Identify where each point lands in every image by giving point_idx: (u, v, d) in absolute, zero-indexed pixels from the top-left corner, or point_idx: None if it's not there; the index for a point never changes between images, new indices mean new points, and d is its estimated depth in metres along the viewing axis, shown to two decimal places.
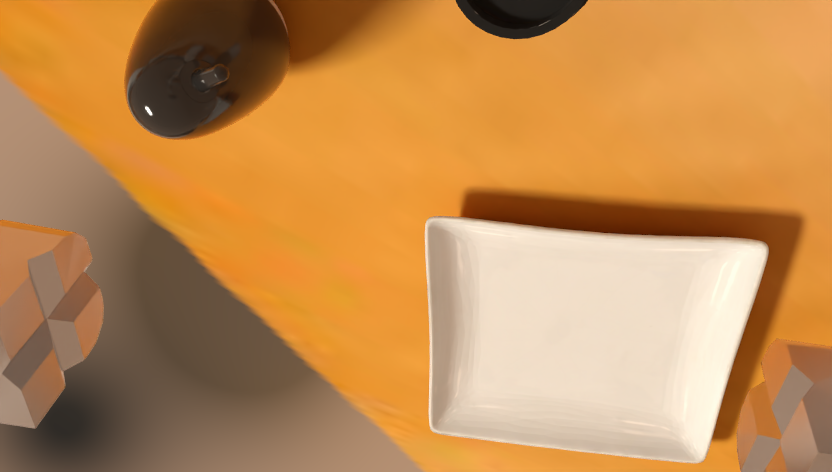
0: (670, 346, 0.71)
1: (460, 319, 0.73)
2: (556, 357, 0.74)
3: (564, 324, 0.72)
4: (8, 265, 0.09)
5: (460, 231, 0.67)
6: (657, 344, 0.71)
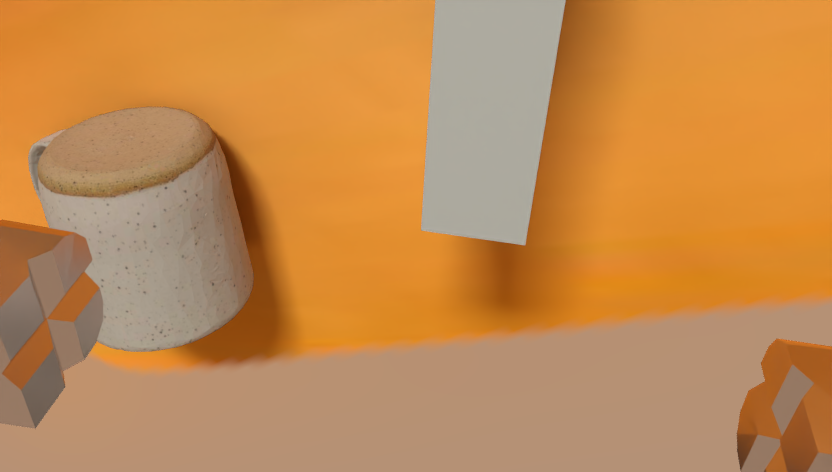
0: None
1: None
2: None
3: None
4: (8, 265, 0.09)
5: None
6: None
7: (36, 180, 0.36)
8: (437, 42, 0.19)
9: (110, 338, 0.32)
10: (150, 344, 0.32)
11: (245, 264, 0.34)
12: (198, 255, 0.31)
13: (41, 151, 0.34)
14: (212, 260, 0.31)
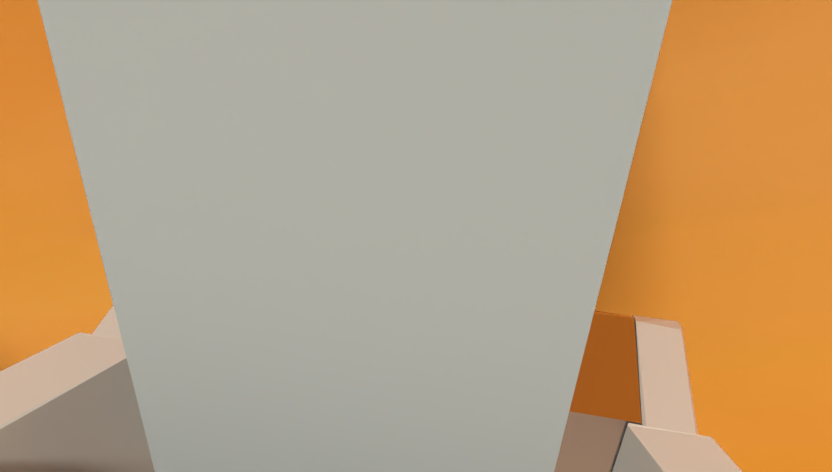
0: None
1: None
2: None
3: None
4: None
5: None
6: None
7: None
8: None
9: None
10: None
11: None
12: None
13: None
14: None
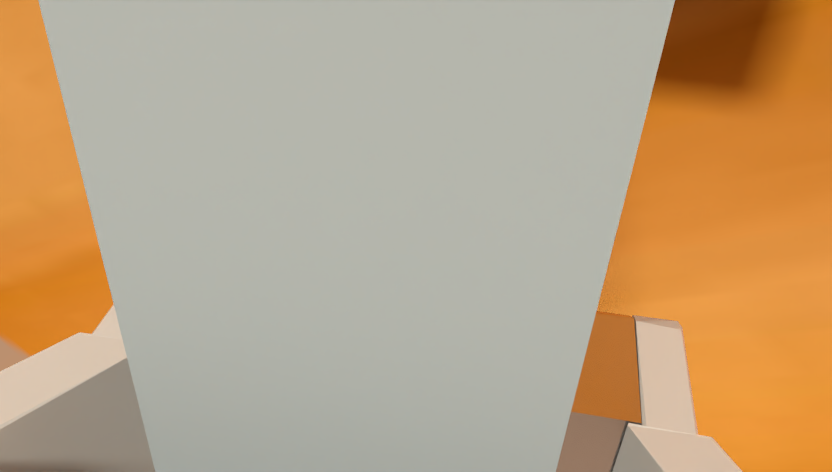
0: None
1: None
2: None
3: None
4: None
5: None
6: None
7: None
8: None
9: None
10: None
11: None
12: None
13: None
14: None
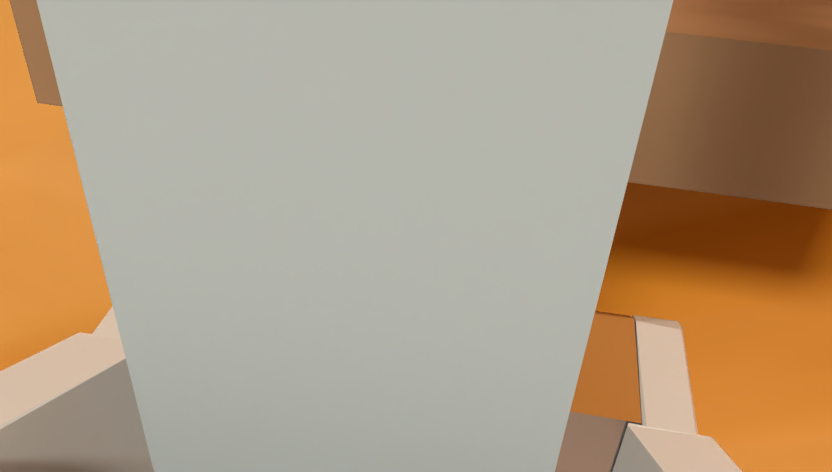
0: None
1: None
2: None
3: None
4: None
5: None
6: None
7: None
8: None
9: None
10: None
11: None
12: None
13: None
14: None
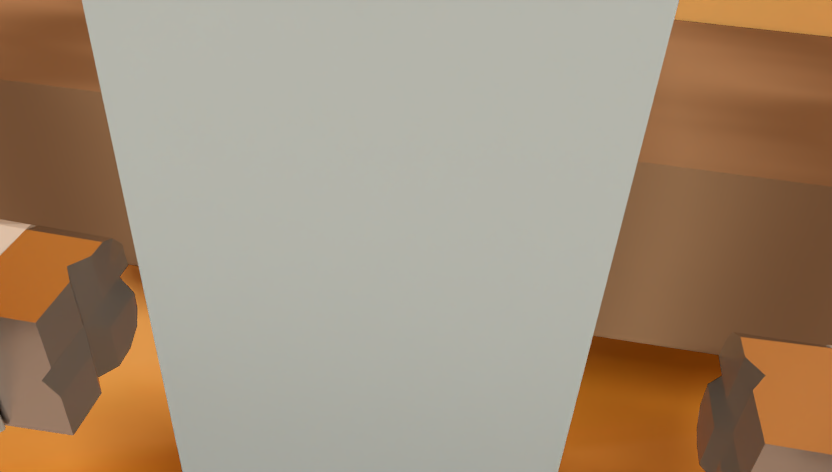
0: None
1: None
2: None
3: None
4: (48, 271, 0.08)
5: None
6: None
7: None
8: None
9: None
10: None
11: None
12: None
13: None
14: None
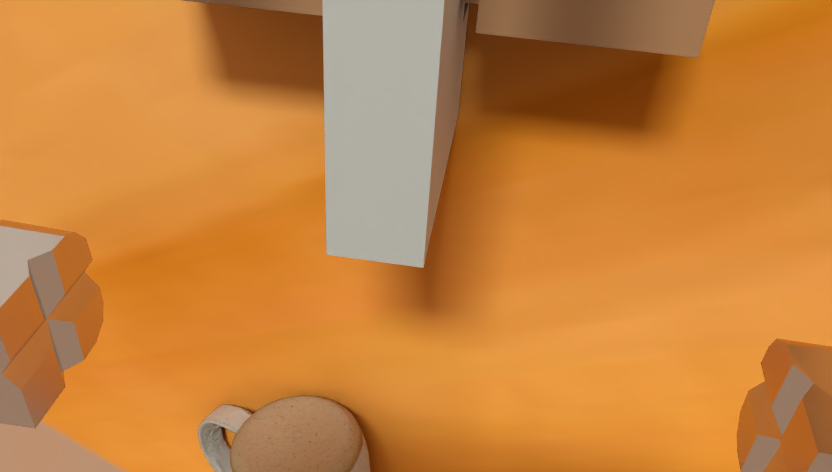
0: None
1: None
2: None
3: None
4: (8, 265, 0.09)
5: None
6: None
7: (202, 438, 0.45)
8: (328, 83, 0.21)
9: None
10: None
11: None
12: None
13: None
14: None
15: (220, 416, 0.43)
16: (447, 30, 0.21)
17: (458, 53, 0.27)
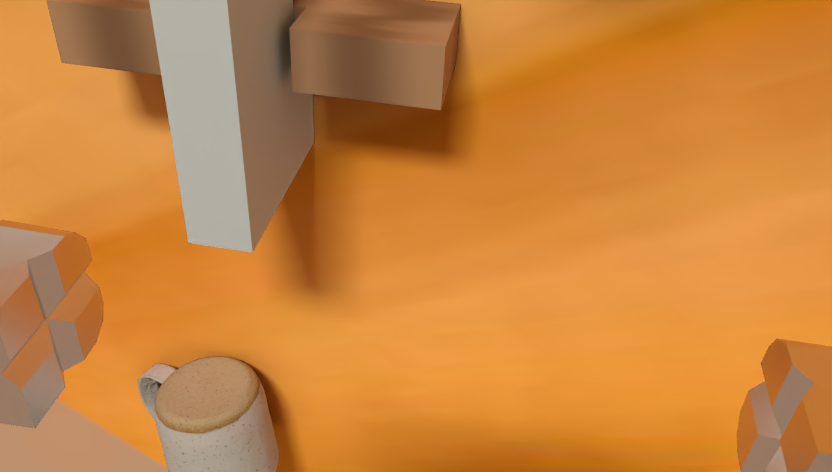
0: None
1: None
2: None
3: None
4: (8, 265, 0.09)
5: None
6: None
7: (141, 390, 0.57)
8: (173, 131, 0.32)
9: None
10: None
11: (275, 450, 0.55)
12: (249, 456, 0.52)
13: (147, 377, 0.55)
14: (257, 457, 0.52)
15: (153, 372, 0.55)
16: (252, 96, 0.32)
17: (293, 102, 0.38)
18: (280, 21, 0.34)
